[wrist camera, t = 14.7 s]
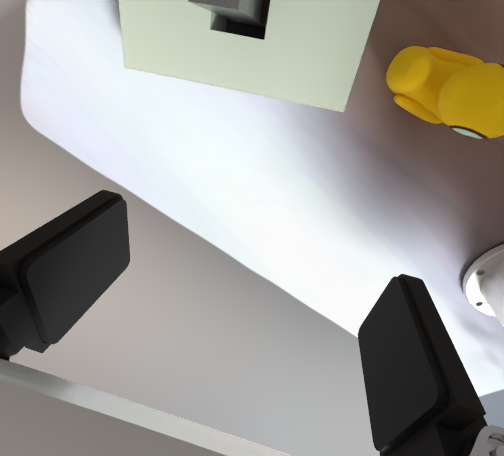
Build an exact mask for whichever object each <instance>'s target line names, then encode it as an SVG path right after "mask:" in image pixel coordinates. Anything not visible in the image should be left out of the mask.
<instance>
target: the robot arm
mask: <svg viewBox="0 0 504 456" xmlns="http://www.w3.org/2000/svg"><path fill="white" fill-rule="evenodd" d="M129 262H130V251H129V235H128V221H127V204H126V201H125V200H123V198H122V196H121V195H120V194H117V193H113V192H110V191H106V190H102V191H99V192H98V193H96V194H94V195H93V196H91V197H89V198H88V199H86V200H84V201H83V202H81V203H79V204H78V205H76V206H75V207H73V208H71V209H69V210H68V211H66V212H64V213H63V214H61V215H60V216H58V217H56V218H54V219H53V220H51V221H49V222H48V223H46V224H44V225H43V226H41V227H39V228H38V229H36V230H35V231H33V232H31V233H29V234H28V235H26V236H24V237H23V238H21V239H19V240H18V241H17V242H14V243H13V244H11V245H10V246H8V247H6V248H5V249H3V250H1V251H0V456H292V455H290V454H287V453H284V452H281V451H278V450H275V449H272V448H269V447H266V446H264V445H261V444H258V443H255V442H252V441H249V440H246V439H243V438H240V437H237V436H234V435H231V434H228V433H225V432H222V431H219V430H216V429H213V428H210V427H207V426H204V425H201V424H198V423H195V422H192V421H189V420H186V419H183V418H180V417H177V416H174V415H171V414H168V413H165V412H162V411H159V410H156V409H153V408H150V407H147V406H144V405H141V404H138V403H135V402H132V401H129V400H126V399H124V398H120V397H117V396H114V395H111V394H108V393H105V392H102V391H99V390H96V389H93V388H90V387H87V386H84V385H81V384H78V383H75V382H72V381H69V380H66V379H63V378H60V377H56V376H54V375H51V374H47V373H44V372H41V371H38V370H35V369H32V368H29V367H26V366H23V365H20V364H16V362H17V354H18V352H19V351H20V350H21V349H22V348H23V347H24V346H25V347H26V348H28V349H31V350H34V351H37V352H40V353H43V352H44V351H45V350H46V349H47V348H48V347H49V346H50V345H51V344H55V343H57V342H58V341H59V340H60V339H61V338H62V337H63V336H64V335H65V334H66V333H67V332H68V331H69V330H70V329H71V328H72V326H73V325H74V324H75V323H76V322H77V321H78V320H79V319H80V318H81V317H82V316H83V314H84V313H85V312H86V311H87V310H88V309H89V308H90V307H91V306H92V305H93V304H94V302H95V301H96V300H97V299H98V298H99V297H100V296H101V295H102V294H103V293H104V292H105V291H106V290H107V288H108V287H109V286H110V285H111V284H112V283H113V282H114V281H115V280H116V279H117V278H118V276H119V275H120V274H121V273H122V272H123V271H124V270H125V269H126V268H127V266H128V264H129ZM463 291H464V294H465V296H466V298H467V299H468V301H469V302H470V303H471V305H472V306H473V307H475V308H476V309H478V310H479V311H481V312H483V313H485V314H488V315H492V316H496V318H497V319H498V320H499V322H500V323H501V325H502V326H503V327H504V244H502V245H500V246H497V247H495V248H493V249H491V250H490V251H488V252H486V253H485V254H483V255H482V256H481V257H479V258H478V259H477V260H476V261H475V262H474V263H473V264H472V265H471V266H470V267H469V269H468V270H467V272H466V274H465V276H464V279H463ZM358 340H359V347H360V354H361V360H362V368H363V375H364V381H365V388H366V395H367V402H368V409H369V416H370V423H371V430H372V437H373V443H374V446H375V448H376V450H378V451H380V456H504V428H502V427H498V426H494V425H490V426H488V425H487V423H486V421H485V419H484V417H483V416H484V415H485V414H486V412H485V411H484V408H483V406H482V404H481V402H480V400H479V398H478V396H477V393H476V391H475V389H474V387H473V385H472V383H471V381H470V379H469V377H468V374H467V372H466V370H465V368H464V366H463V364H462V362H461V360H460V358H459V355H458V353H457V351H456V349H455V347H454V345H453V343H452V341H451V339H450V337H449V334H448V332H447V330H446V328H445V326H444V324H443V322H442V320H441V318H440V315H439V313H438V311H437V309H436V307H435V305H434V303H433V301H432V299H431V296H430V294H429V292H428V290H427V288H426V286H425V284H424V282H423V280H421V279H419V278H416V277H412V276H408V275H405V274H401V275H399V276H398V277H393V278H392V279H391V281H390V282H389V284H388V285H387V287H386V288H385V290H384V291H383V293H382V294H381V296H380V297H379V299H378V300H377V302H376V304H375V305H374V307H373V308H372V310H371V311H370V313H369V314H368V316H367V317H366V319H365V320H364V322H363V323H362V325H361V327H360V329H359V332H358Z"/></svg>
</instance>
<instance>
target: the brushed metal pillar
mask: <svg viewBox="0 0 504 456" xmlns="http://www.w3.org/2000/svg"><path fill="white" fill-rule="evenodd" d="M188 2H190V3H193V4H195V5H197V6H200V7H202V8H204V9H207V10H209V11H211V12H214V13H216V14H218V15H221V16H223V17H225V18H228V19H230V20H232V21H235V22H240V23H246V24H252V25H258V26H264V27H266V25H267V19H268V12H269V5H270V0H188Z"/></svg>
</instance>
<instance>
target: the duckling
mask: <svg viewBox="0 0 504 456" xmlns="http://www.w3.org/2000/svg"><path fill="white" fill-rule="evenodd" d="M386 82H387V85H388V87H389V88H390V89H391V90H392V91H393V92H394V93H395V94H396V95H395V96H394V101H395V102H396V103H397V104H398V105H399V106H401V107H402V108H404V109H405V110H407V111H409V112H410V113H412V114H414V115H416V116H417V117H419V118H421V119H423V120H425V121H427V122H430V123H435V124H439V123H445V124H446V125H448V126H449V127H450V128H452V129H453V130H455V131H457V132H459V133H461V134H463V135H465V136H468V137H472V138H479V139H488V138H495V137H500V136H503V135H504V65H503V64H497V63H484V62H483V61H482V60H480V59H478V58H476V57H473V56H470V55H466V54H462V53H458V52H454V51H450V50H446V49H442V48H438V47H428V48H425V47H421V46H411V47H407V48H405V49H403V50H401V51H400V52H399V53H398V54H397V55H396V56H395V58H394V59H393V61H392V62H391V64H390V66H389V68H388V70H387V73H386Z"/></svg>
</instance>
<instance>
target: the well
mask: <svg viewBox="0 0 504 456" xmlns="http://www.w3.org/2000/svg"><path fill="white" fill-rule="evenodd" d="M118 1H119V12H120V24H121V36H122V47H123V59H124V68H129V69H134V70H139V71H144V72H149V73H154V74H158V75H163V76H168V77H173V78H178V79H183V80H188V81H193V82H198V83H202V84H207V85H212V86H217V87H222V88H227V89H232V90H237V91H241V92H246V93H251V94H256V95H261V96H266V97H271V98H276V99H281V100H285V101H290V102H295V103H300V104H305V105H310V106H315V107H320V108H325V109H329V110H334V111H339V112H344V109H345V106H346V103H347V100H348V97H349V94H350V91H351V88H352V85H353V82H354V79H355V75H356V72H357V69H358V66H359V63H360V60H361V57H362V54H363V51H364V48H365V45H366V42H367V39H368V36H369V32H370V29H371V26H372V23H373V20H374V17H375V14H376V11H377V8H378V5H379V2H380V0H270V6H269V12H268V19H267V25H266V32H265V39H264V40H262V39H257V38H251V37H246V36H241V35H236V34H231V33H226V25H227V18H225V17H223V16H221V15H218V14H216V13H214V12H211V11H209V10H207V9H204V8H202V7H200V6H197V5H195V4H193V3H190V2H188V0H118Z"/></svg>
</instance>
